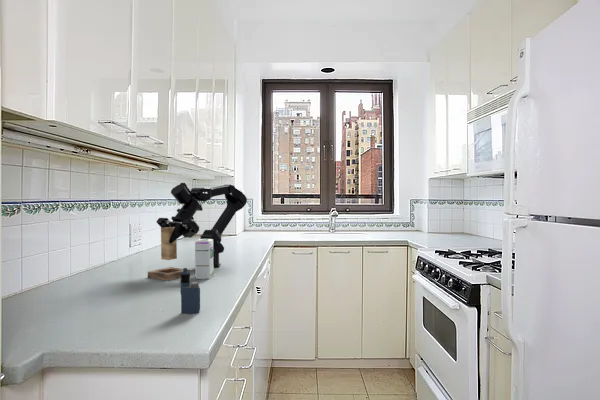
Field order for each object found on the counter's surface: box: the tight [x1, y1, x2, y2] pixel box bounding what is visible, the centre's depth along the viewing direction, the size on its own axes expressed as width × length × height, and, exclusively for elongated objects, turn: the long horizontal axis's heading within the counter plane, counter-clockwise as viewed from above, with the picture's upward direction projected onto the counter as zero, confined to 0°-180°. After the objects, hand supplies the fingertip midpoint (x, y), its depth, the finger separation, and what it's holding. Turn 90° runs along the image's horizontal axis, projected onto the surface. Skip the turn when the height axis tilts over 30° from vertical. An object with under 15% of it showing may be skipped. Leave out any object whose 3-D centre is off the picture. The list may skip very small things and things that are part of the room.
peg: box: [160, 227, 178, 261], centre depth 153 cm, size 4×4×12 cm
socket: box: [147, 266, 191, 281], centre depth 154 cm, size 11×11×2 cm
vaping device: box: [179, 267, 201, 315], centre depth 108 cm, size 3×5×12 cm, turn 88°
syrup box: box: [194, 238, 215, 280], centre depth 152 cm, size 6×6×14 cm
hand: (165, 242), depth 152 cm, fingers closed on peg, 4 cm apart
